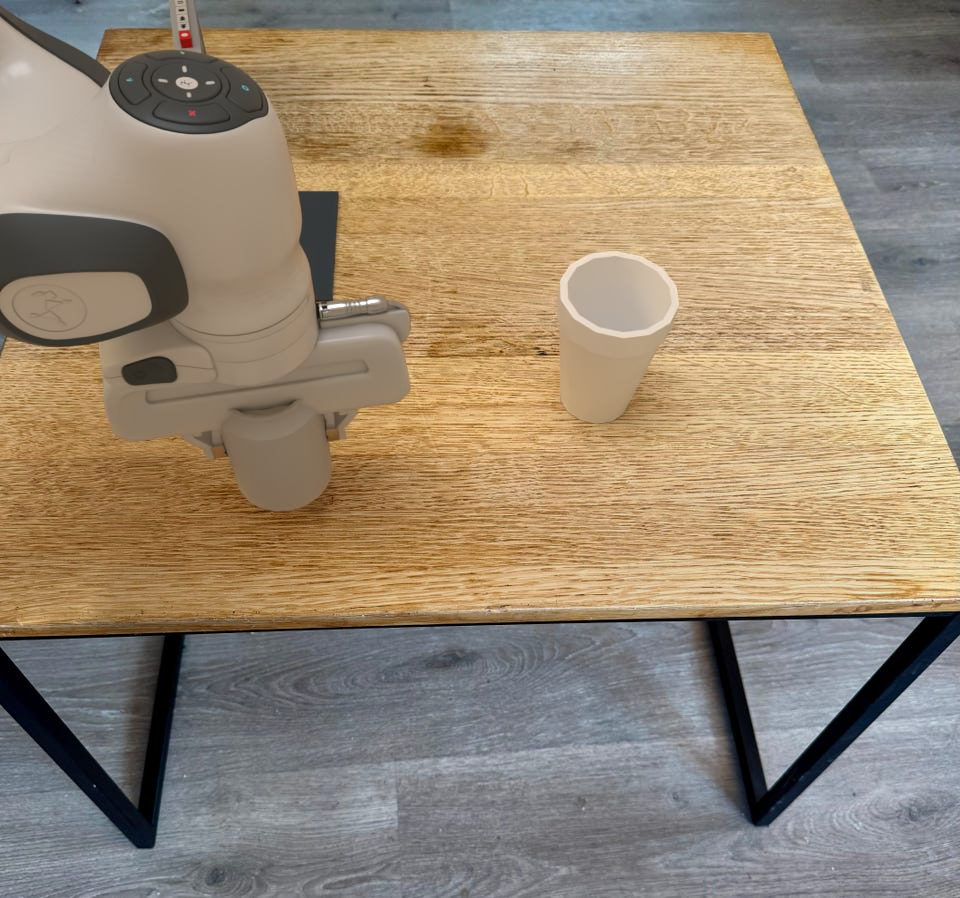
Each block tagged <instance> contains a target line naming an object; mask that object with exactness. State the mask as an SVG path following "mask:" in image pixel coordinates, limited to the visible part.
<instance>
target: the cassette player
mask: <svg viewBox="0 0 960 898" xmlns="http://www.w3.org/2000/svg"><path fill="white" fill-rule="evenodd" d="M167 1H168V7H169V8H168V9H169V17H170V18H169V19H170V25H171V33H172V34H171V35H172V43H173V50H185V51H192V52H198V53H202V54H206V55H208V54H207V49H206V45H205V41H204V36H203V32H202V27H201V23H200V18H199V14H198V10H197V6H196V2H195V0H167Z"/></svg>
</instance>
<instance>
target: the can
mask: <svg viewBox="0 0 960 898" xmlns="http://www.w3.org/2000/svg"><path fill="white" fill-rule="evenodd" d="M302 401H303V399H296V400H295V401H294V402H293V403H292V404H291V405H285V406H278V407H274V408H271V409H265V410H251V411H244V412H240V411H238V410H236V409H228V410H227V411H228V412H229V413H231V416H230V417H229V418H228V419H226V420H225V421H224V422H223V423H222V424H221V428H222V429H219V430H220V433H221V436H222V439H223V442H224V445H225V448H226V451H227V454H228V457H227V458H228V459H229V463H230V466H231V469H232V472H233V474H234V477H235V480H236V484H237V486H238V489H239V492H240V493H241V494H242V495H243V497H244V498H245V499H246V501H247V502H249V503H250V504H253V505H254V506H256V507H258V508H260V509H262V510H267V511H272V512H291V511H294V510H296V509H297V510H298V509H301V508H303V507H306V506H308V505H310V504H311V503H312V502H313V501H315V500H317V499H318V498H319V497H320V496H321V495H322V494H323V492H324V491H325V490H326V489H327V487H328V486H329V483H330V481H331V478H332V476H333V460H332V454H331V447H330V443H329V442H330V441H329V442H327V437H326V431H325V417H324V414H320V415H317V413H316V411H315V410H313V409H311V408H308V407H306V406H303V405H301V404H300V403H301V402H302Z"/></svg>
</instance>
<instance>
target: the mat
mask: <svg viewBox="0 0 960 898" xmlns="http://www.w3.org/2000/svg"><path fill="white" fill-rule="evenodd" d="M339 193H340V192H339V191H338V190H298V194H299V201H300V207H301V213H302V227H301V234H300V238H299V243H300V245H301V247H302V249H303V251H304V253H305V254H306V257H307V259H308V262H309V266H310V271H311V277H312V284H313V290H314V297H315V302H327V301H333V295H334V294H333V293H334V280H335V279H334V278H335V277H334V276H335V264H336V263H335V260H336V244H337V243H336V242H337V227H338V212H339V211H338V210H339V209H338V208H339Z"/></svg>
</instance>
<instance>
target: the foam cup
mask: <svg viewBox="0 0 960 898" xmlns="http://www.w3.org/2000/svg"><path fill="white" fill-rule="evenodd" d="M679 308H680V301H679V294H678V287H677V284H676V283H675V282H674V281H673V280H672V278H671V277H670V276H669V274H668V273H667V272H666V270H665V269H664V268H663V267H661V266H660V265H657V264H656V263H654V262H652V261H650V260H649V259H647V258H645V257H643V256H642V255H639V254H638V255H637V254H633V253H628V252H623V251H616V250H610V251H609V250H608V251H601V252H591V253H588V254H587V255H584V256H583V257H581V258H579V259H577V260H576V261H573V262H572V263H570V264H569V266H568V267H567V269H566V270H565V271H564V273H563V275H562V276H561V277H560V279H559V283H558V289H557V295H556V321H557V323H558V330H559V331H558V345H559V346H558V349H559V351H558V353H559V355H558V356H559V363H558V364H559V401H560V402H561V404H562V406H563V407H564V409H565V410H566V412H567V413H569V414H570V415H572V416H573V417H575V418H576V419H578V420H579V421H581V422H587V423H589V424H590V423H591V424H595V425H597V424H605V423H610V422H614V421H615V420H616V419H618V418H620V417H622V416H623V415H624V414H625V412H626V410H627V408H628V406H629V405H630V402H631V400H632V399H633V396H634V395H635V393H636V391H637V389H638V387H639V385H640V383H641V382H642V380H643V378H644V376H645V374H646V373H647V370H648V368H649V366H650V364H651V362H652V361H653V359H654V357H655V355H656V354H657V352H658V349H659V348H660V346H662V345H664V344H665V341H666V339H667V338H668V336H669V334H670V333H671V330H672V328H673V326H674V323H675V320H676V317H677V315H678V311H679Z"/></svg>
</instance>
